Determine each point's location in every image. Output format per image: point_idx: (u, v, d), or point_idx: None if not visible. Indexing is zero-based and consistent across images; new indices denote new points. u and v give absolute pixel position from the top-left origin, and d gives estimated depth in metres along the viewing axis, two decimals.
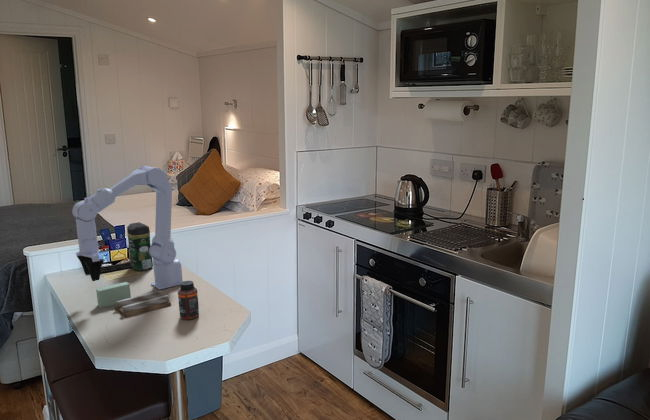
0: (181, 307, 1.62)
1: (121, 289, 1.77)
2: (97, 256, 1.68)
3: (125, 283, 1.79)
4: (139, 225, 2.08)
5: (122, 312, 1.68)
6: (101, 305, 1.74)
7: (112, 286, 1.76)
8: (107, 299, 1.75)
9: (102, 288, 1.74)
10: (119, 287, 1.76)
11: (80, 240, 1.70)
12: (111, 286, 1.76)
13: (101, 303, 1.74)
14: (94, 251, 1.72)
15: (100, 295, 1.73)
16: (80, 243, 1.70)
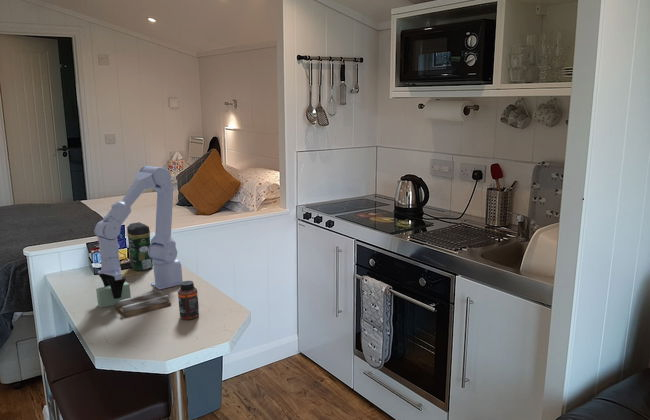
0: (181, 307, 1.62)
1: None
2: (120, 274, 1.70)
3: (125, 283, 1.79)
4: (139, 225, 2.08)
5: (122, 312, 1.68)
6: (101, 305, 1.74)
7: None
8: (107, 299, 1.75)
9: (102, 288, 1.74)
10: None
11: (103, 258, 1.72)
12: None
13: (101, 303, 1.74)
14: (116, 269, 1.74)
15: (100, 295, 1.73)
16: (103, 261, 1.72)
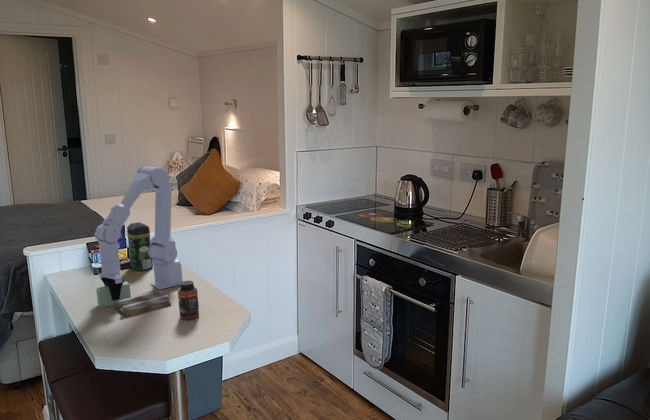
0: (181, 307, 1.62)
1: (121, 289, 1.77)
2: (120, 278, 1.70)
3: (125, 283, 1.79)
4: (139, 225, 2.08)
5: (122, 312, 1.68)
6: (101, 305, 1.74)
7: None
8: (107, 298, 1.74)
9: (102, 288, 1.74)
10: None
11: (103, 262, 1.72)
12: None
13: (101, 303, 1.73)
14: (117, 272, 1.74)
15: (100, 295, 1.73)
16: (103, 265, 1.72)
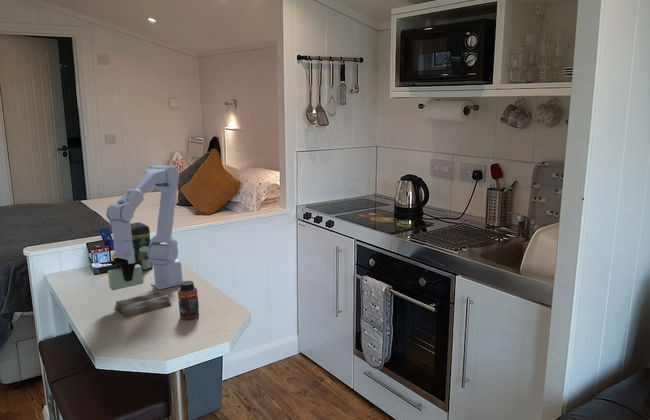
0: (181, 307, 1.62)
1: (133, 272, 1.73)
2: (133, 258, 1.67)
3: (137, 265, 1.75)
4: (139, 225, 2.08)
5: (122, 312, 1.68)
6: (113, 287, 1.70)
7: None
8: (119, 281, 1.71)
9: (114, 270, 1.71)
10: None
11: (116, 242, 1.69)
12: None
13: (113, 285, 1.70)
14: (129, 253, 1.70)
15: (112, 277, 1.69)
16: (115, 245, 1.69)
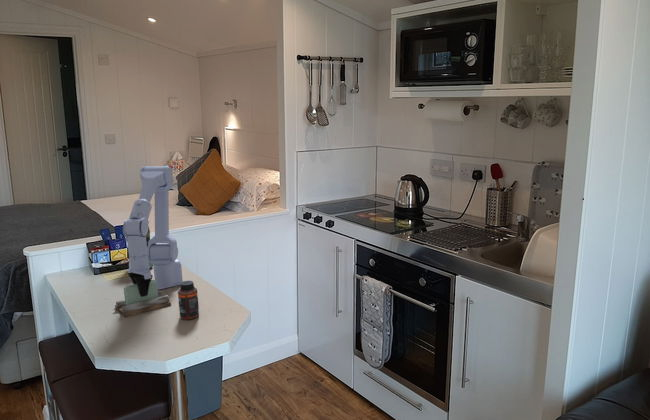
0: (181, 307, 1.62)
1: None
2: (149, 273, 1.66)
3: (152, 281, 1.75)
4: None
5: (122, 312, 1.68)
6: (129, 303, 1.69)
7: None
8: (134, 297, 1.70)
9: (129, 286, 1.70)
10: None
11: (131, 257, 1.68)
12: None
13: (129, 301, 1.69)
14: (145, 268, 1.70)
15: (128, 293, 1.68)
16: (131, 260, 1.68)
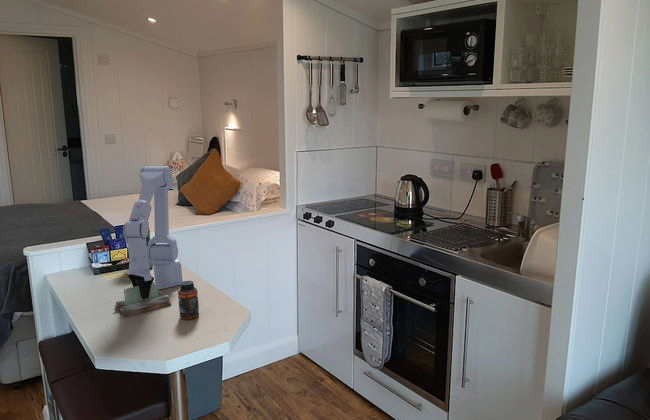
0: (181, 307, 1.62)
1: None
2: (149, 275, 1.66)
3: (153, 283, 1.75)
4: None
5: (122, 312, 1.68)
6: None
7: None
8: (135, 299, 1.70)
9: (130, 289, 1.70)
10: None
11: (132, 259, 1.68)
12: None
13: (129, 304, 1.69)
14: (145, 270, 1.70)
15: (128, 296, 1.69)
16: (131, 262, 1.68)
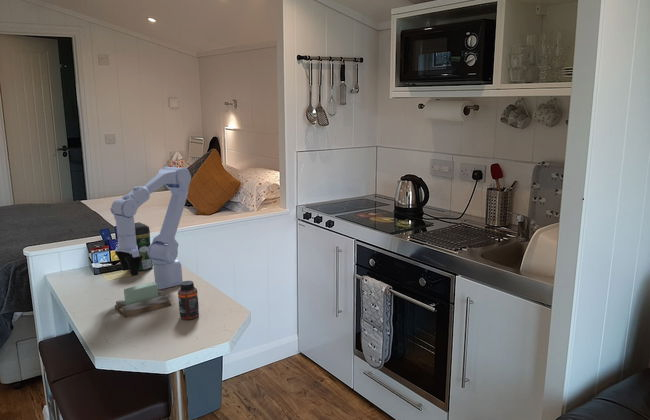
0: (181, 307, 1.62)
1: (149, 290, 1.73)
2: (137, 252, 1.72)
3: (153, 283, 1.75)
4: (139, 225, 2.08)
5: (122, 312, 1.68)
6: None
7: (140, 286, 1.72)
8: (135, 299, 1.70)
9: (130, 289, 1.70)
10: (147, 287, 1.72)
11: (120, 236, 1.74)
12: (139, 286, 1.72)
13: (129, 304, 1.69)
14: (133, 247, 1.76)
15: (128, 296, 1.69)
16: (120, 239, 1.74)
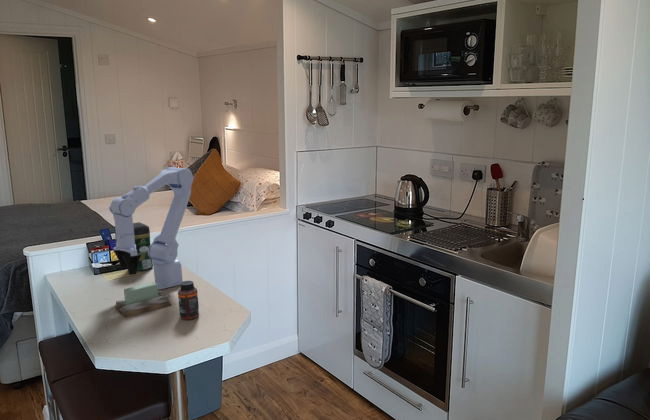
0: (181, 307, 1.62)
1: (149, 290, 1.73)
2: (135, 251, 1.73)
3: (153, 283, 1.75)
4: (139, 225, 2.08)
5: (122, 312, 1.68)
6: None
7: (140, 286, 1.72)
8: (135, 299, 1.70)
9: (130, 289, 1.70)
10: (147, 287, 1.72)
11: (118, 235, 1.75)
12: (139, 286, 1.72)
13: (129, 304, 1.69)
14: (131, 246, 1.77)
15: (128, 296, 1.69)
16: (118, 238, 1.75)
